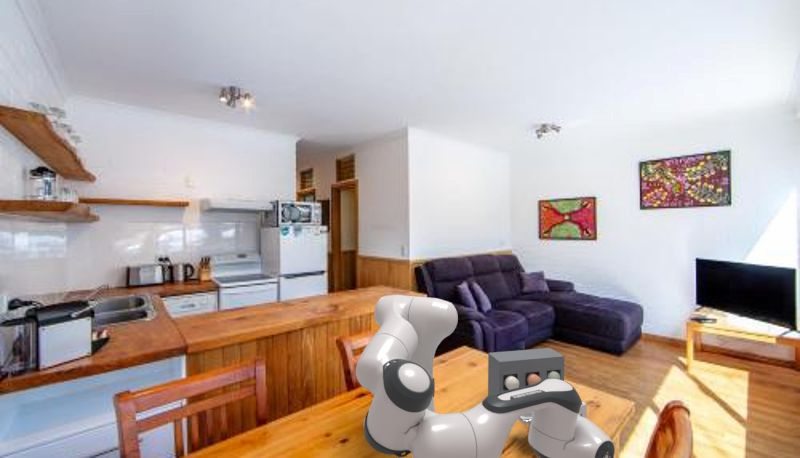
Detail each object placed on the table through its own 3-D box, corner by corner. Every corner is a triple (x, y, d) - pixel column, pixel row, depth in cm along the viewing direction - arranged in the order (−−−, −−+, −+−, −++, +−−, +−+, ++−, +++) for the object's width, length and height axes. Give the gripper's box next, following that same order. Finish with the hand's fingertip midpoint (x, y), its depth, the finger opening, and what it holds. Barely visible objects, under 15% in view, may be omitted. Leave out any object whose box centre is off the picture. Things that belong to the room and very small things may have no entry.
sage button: (548, 385, 117) (549, 372, 117) (545, 382, 119) (545, 370, 119) (559, 383, 118) (560, 371, 118) (556, 381, 120) (556, 369, 120)
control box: (499, 410, 114) (499, 361, 113) (487, 398, 122) (488, 352, 121) (563, 402, 119) (564, 356, 118) (549, 391, 127) (549, 347, 126)
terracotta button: (529, 389, 114) (529, 376, 114) (526, 386, 116) (526, 373, 116) (541, 388, 115) (541, 375, 115) (537, 385, 117) (537, 372, 117)
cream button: (507, 391, 112) (507, 378, 112) (504, 388, 114) (504, 376, 114) (519, 390, 113) (519, 377, 113) (515, 387, 115) (516, 374, 115)
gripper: (524, 435, 91) (497, 407, 105) (590, 425, 96) (557, 400, 110) (524, 411, 91) (498, 387, 105) (591, 402, 96) (557, 380, 109)
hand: (528, 393), depth 107 cm, fingers closed
